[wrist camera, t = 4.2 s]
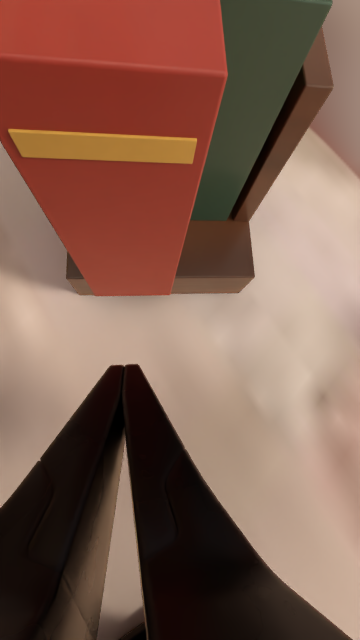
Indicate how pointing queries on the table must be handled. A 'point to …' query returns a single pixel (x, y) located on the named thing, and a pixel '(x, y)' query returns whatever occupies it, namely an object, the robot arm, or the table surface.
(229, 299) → the table surface
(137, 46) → the red book
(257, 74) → the green book
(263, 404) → the table surface
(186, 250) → the book rack
